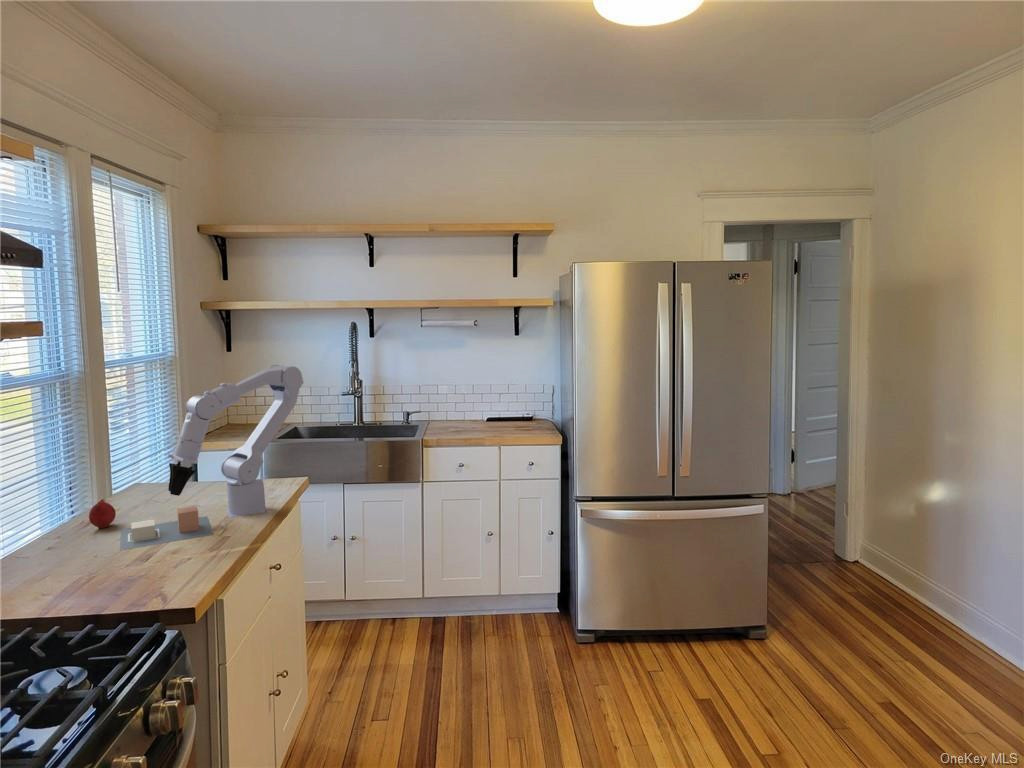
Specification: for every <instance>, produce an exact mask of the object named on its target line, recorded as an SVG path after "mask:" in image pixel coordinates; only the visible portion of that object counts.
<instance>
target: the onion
mask: <svg viewBox="0 0 1024 768" xmlns="http://www.w3.org/2000/svg"><path fill="white" fill-rule="evenodd" d="M115 519H116V510H115V508H114V506H112V504H110V503H108V502H106V501H105V499H104V498H100V499H99V500H98V502H97V503H95V504H94V505H93V506H92V507H91V508H90V511H89V513H88V520H89V522H90V524H91V525H93V526H95V527H96V528H99V529H103V528H107V527H109V525H111V524H112V523H113V522H114V520H115Z"/></svg>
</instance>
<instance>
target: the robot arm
mask: <svg viewBox="0 0 1024 768" xmlns="http://www.w3.org/2000/svg"><path fill="white" fill-rule="evenodd" d="M303 384H304V379H303V374H302V372H301V370H300V368H298V367H297V366H285V365H283V366H282V365H279V364H272V365H271V366H269V367H265V368H262V369H261V370H260V371H258V372H257V373H254V374H252V375H251V376H249V377H246V378H244V379H243V380H241V381H239V382H237V383H236V384H234V383H231V382H222V383H220V384H219V387H216V388H214V389H212V390H210V391H209V390H205V391H204V392H203V394H202V395H193V396H192V397H190V398H189V399H188V400H187V402H184V411H185V419H184V420H183V424H182V428H181V431H180V433H179V436H178V440H177V442H176V446H175V447H174V448H175V449H174V452H173V454H167V458H171V459H173V460H175V461H176V460H177V461H176V464H175V463H172V462H169V463H168V464H169V465H168V466H169V482H168V492H170V493H169V494H170V495H174V496H178V497H180V496H181V494H182V492H183V490H184V488H185V487H186V485H187V483H188V481H189V480H190V479H191V477H192V476H193V475H194V474H195V473H196V470H195V469H194V467H193V466H191V465H192V464H194V465H195V464H198V462H199V461H198V459H199V456H200V454H201V453H200V452H201V449H202V446H203V444H204V440H205V436H206V434H207V431H208V427H209V424H210V421H211V419H214V418H216V416H217V415H218V414H219V413H218V412H220V411H222V410H224V409H226V408H228V407H230V406H233V405H234V404H237V403H239V402H240V400H241V397H242V396H243V395H245V394H248V393H250V392H252V391H255V390H257V389H260V388H262V387H264V386H267V385H268V386H269V388H270V390H271V392H272V394H273V396H274V401H273V403H272V404H271V406H270V407H269V408H268V410H267V411H266V412H265V414H264V416H263V417H262V418H261V419H260V421H259V423H258V424H257V425H256V427H255V429H254V430H253V431H252V432H251V434H250V436H249V437H248V439H247V440H246V441H245V443H244V444H243V445H242V446H240V447H237V448H236V449H235V450H234V451H233V452H232V453H231V454H230V455H229V456H227V457H226V458H224V459H223V461H222V463H221V466H220V471H221V473H222V475H223V476H224V477H225V481H226V490H227V493H226V494H227V504H228V508H225V511H226V515H227V516H228V518H233V517H234V518H235V517H240V516H247V515H253V514H259V513H266V512H267V511H266V497H265V496H266V495H265V493H266V492H265V485H264V480H263V479H262V478H260V479H259V478H258V477H259V475H260V470H261V467H262V465H263V463H264V459H263V457H262V455H263V453H264V452H265V451H266V449H267V447H268V446H269V445H270V443H271V442H272V440H273V439H274V437H275V436H276V435H277V432H279V430H280V428H281V427H282V425H283V424H284V423H285V421H286V420H287V418H288V417H289V415H290V414H291V412H292V410H293V409H294V408H295V406H296V404H297V401H298V398H299V393H300V388H301V387H302V385H303ZM257 478H258V479H257Z"/></svg>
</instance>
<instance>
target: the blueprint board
mask: <svg viewBox="0 0 1024 768" xmlns="http://www.w3.org/2000/svg"><path fill="white" fill-rule="evenodd" d="M198 518H199V530H193V531H187V532H181V533H179V528H178V520H174V521H169V522H161V523H156V524H155V519H147V520H142V521H135V522H131V525H130V526H131V527H130V528H123V529H121V530H120V542H119V545H120V546H119V551H124V550H130V549H131V550H132V549H137V548H142V547H148V546H149V547H150V546H153V545H160V544H166V543H173V542H179V541H184V540H189V539H194V538H195V539H196V538H202V537H207V536H212V535H214V531H213V529H212V526H211V524H210V521H209V517H208V516H201V517H200V516H198Z"/></svg>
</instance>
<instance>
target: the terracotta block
mask: <svg viewBox="0 0 1024 768" xmlns="http://www.w3.org/2000/svg"><path fill="white" fill-rule="evenodd" d="M176 510H177V511H176V512H177V521H178V528H179V533H181V532H187V531H193V530H199V510H198V506H197V505H194V506H192V505H191V506H186V507H180V508H176Z"/></svg>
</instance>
